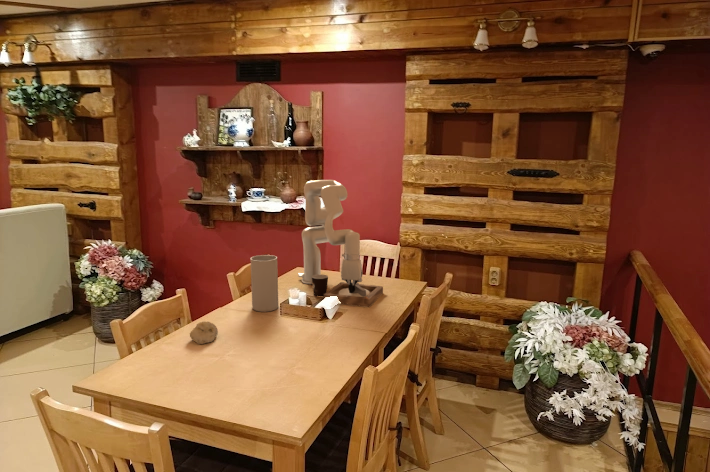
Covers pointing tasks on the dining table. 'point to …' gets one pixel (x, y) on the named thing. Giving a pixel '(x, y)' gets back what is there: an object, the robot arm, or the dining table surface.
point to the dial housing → (354, 300)
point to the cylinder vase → (264, 283)
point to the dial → (358, 291)
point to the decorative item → (204, 332)
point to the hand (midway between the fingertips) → (351, 292)
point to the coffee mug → (319, 284)
